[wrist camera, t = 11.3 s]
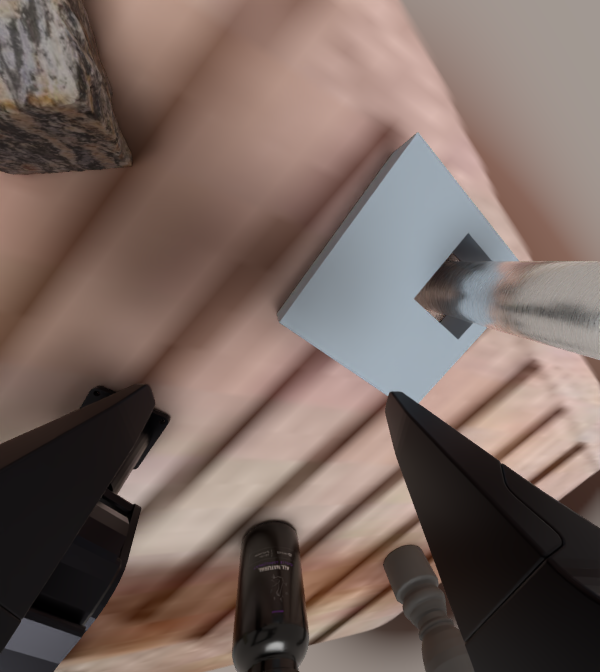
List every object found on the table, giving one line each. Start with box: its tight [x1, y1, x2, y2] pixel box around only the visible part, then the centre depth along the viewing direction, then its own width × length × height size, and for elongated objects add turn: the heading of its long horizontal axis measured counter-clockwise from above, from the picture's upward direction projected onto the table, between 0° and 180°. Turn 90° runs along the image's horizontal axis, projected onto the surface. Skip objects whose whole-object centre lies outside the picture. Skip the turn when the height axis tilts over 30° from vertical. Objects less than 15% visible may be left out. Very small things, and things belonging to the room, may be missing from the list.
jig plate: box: [277, 132, 519, 403], centre depth 19 cm, size 15×15×3 cm
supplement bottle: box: [232, 522, 309, 672], centre depth 22 cm, size 7×7×12 cm
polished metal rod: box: [415, 261, 600, 360], centre depth 15 cm, size 4×4×13 cm
